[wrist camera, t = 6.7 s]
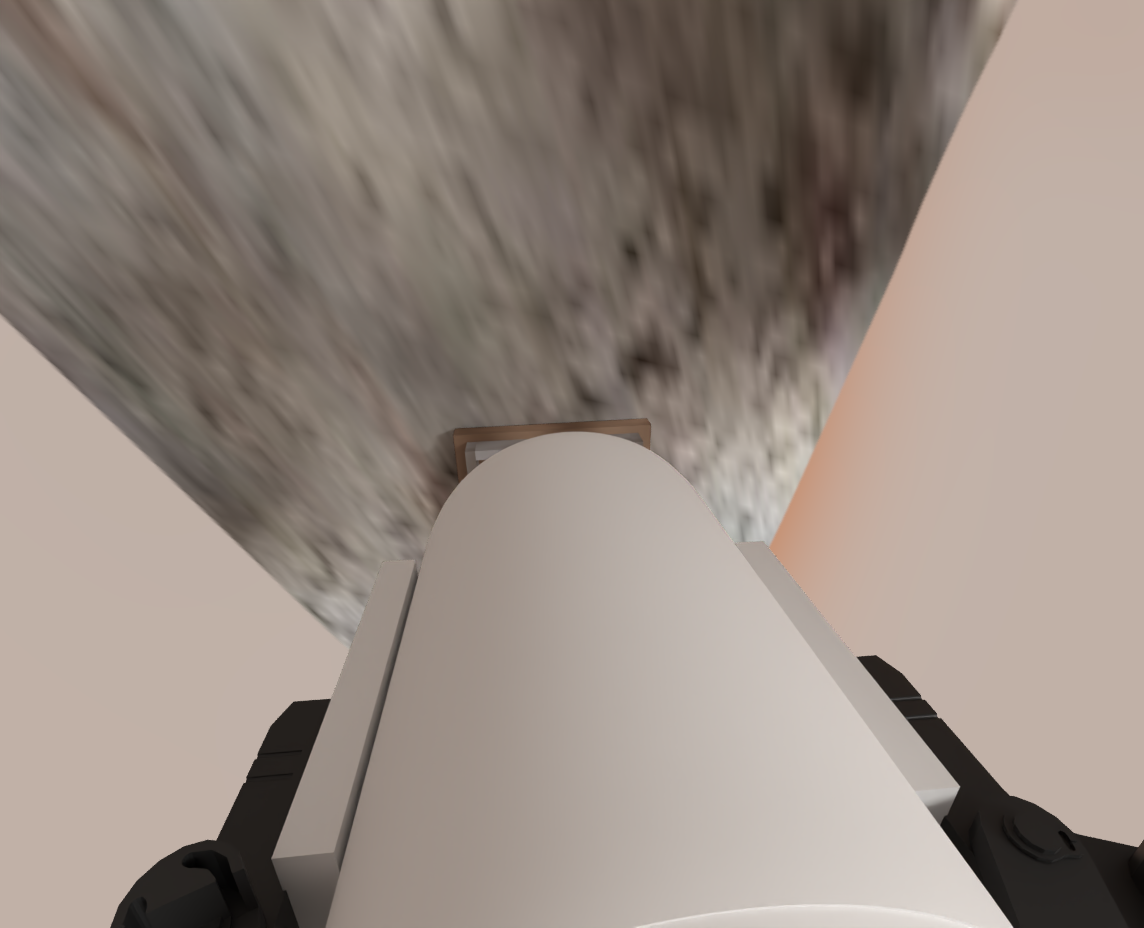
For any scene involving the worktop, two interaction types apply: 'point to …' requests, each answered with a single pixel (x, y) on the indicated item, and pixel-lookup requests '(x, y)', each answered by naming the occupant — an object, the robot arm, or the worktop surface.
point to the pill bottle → (624, 730)
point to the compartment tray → (490, 440)
